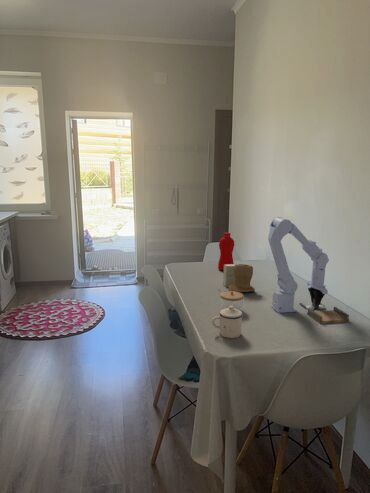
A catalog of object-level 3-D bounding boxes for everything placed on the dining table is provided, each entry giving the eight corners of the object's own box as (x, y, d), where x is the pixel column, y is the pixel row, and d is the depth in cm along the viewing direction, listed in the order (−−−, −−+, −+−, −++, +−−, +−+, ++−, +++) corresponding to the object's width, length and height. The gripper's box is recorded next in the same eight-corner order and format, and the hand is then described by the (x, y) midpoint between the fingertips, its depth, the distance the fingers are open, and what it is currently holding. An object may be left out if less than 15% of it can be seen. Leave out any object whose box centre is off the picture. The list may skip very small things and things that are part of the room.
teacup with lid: (239, 329, 154) (240, 302, 151) (243, 338, 145) (244, 310, 142) (210, 328, 153) (211, 302, 151) (212, 338, 145) (213, 310, 142)
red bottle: (236, 268, 248) (237, 232, 243) (229, 272, 239) (230, 234, 234) (223, 266, 253) (225, 230, 248) (216, 270, 244) (217, 232, 239)
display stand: (320, 323, 160) (320, 317, 159) (307, 314, 170) (307, 308, 170) (348, 321, 163) (349, 315, 162) (334, 312, 173) (334, 306, 173)
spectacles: (307, 310, 175) (308, 300, 174) (299, 304, 183) (300, 295, 182) (327, 309, 177) (328, 299, 176) (318, 303, 185) (319, 294, 184)
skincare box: (225, 287, 209) (226, 266, 206) (222, 284, 213) (223, 264, 211) (235, 286, 210) (236, 265, 208) (232, 284, 215) (233, 263, 212)
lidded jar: (216, 307, 177) (216, 289, 175) (235, 305, 181) (236, 286, 179) (226, 316, 167) (227, 296, 165) (247, 313, 171) (248, 293, 169)
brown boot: (250, 287, 210) (251, 261, 206) (257, 294, 198) (258, 266, 195) (224, 287, 207) (225, 262, 204) (229, 294, 196) (230, 267, 193)
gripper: (334, 280, 169) (331, 308, 172) (317, 272, 183) (315, 298, 185) (320, 281, 167) (318, 309, 170) (304, 272, 181) (302, 298, 184)
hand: (315, 303), depth 178 cm, fingers closed on spectacles, 3 cm apart
